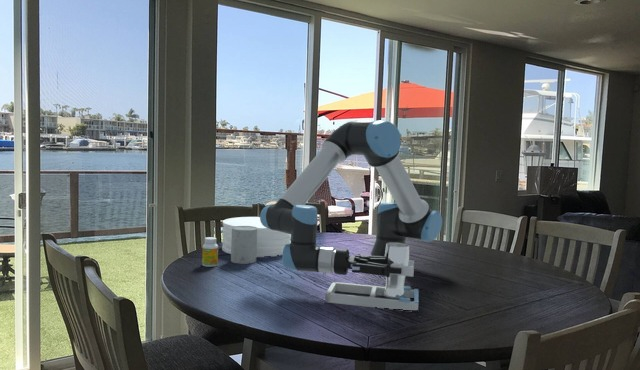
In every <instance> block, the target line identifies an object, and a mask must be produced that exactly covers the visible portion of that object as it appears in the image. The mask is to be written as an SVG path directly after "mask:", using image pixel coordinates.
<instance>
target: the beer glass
mask: <svg viewBox="0 0 640 370" xmlns="http://www.w3.org/2000/svg"><path fill="white" fill-rule="evenodd" d="M409 260H410V245H409V244H407V243H406V244H404V243H394V242H392V243H387V244H386V250H385V259H384V264H385V265H390V266H391V264H392V265H402V266H408V264H409ZM406 277H407V276H401V275H391V274H390V276H389V277H386V276H385V286H384V287H385V290H384V296H383V297H386V298H388V299H394V300H399V297H405V291H404V286H405V281H406Z"/></svg>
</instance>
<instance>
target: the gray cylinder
mask: <svg viewBox="0 0 640 370" xmlns="http://www.w3.org/2000/svg"><path fill="white" fill-rule="evenodd" d="M257 229H258V228H257V227H253V226H235V227H232V242H231V254H230V262H232V263H234V264H240V265H241V264H242V265H245V264H246V265H248V264H249V263H250V264H254V263H257V257H256V254H257Z"/></svg>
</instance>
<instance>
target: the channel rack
mask: <svg viewBox="0 0 640 370" xmlns="http://www.w3.org/2000/svg"><path fill="white" fill-rule="evenodd" d="M384 290H385V286H378V285H371V284H370V285H368V284H358V283H350V282H339V281H332V283H331V284H330V286H329V287H328V289H327V291H326V292H325V296H324V297H325V298H324V299H325V300H324V303H329V304H330V303H331V304H339V305H346V306H347V305H348V306H355V307H358V306H359V307H367V308H375V307H377V308H376V309H384V308H389V309H388V310H393V309H403V310H418V311H419V304H418V303H414V300H413V301H412V300H410V303H409V302H399V299H394V298H383V297H385V296H384ZM404 291H405V297H407V298H414V289H411V291H408V290H404ZM336 292H340V293H336ZM341 292H342V293H341ZM344 293H348V294H344ZM349 293H353V294H349ZM354 294H360V295H354ZM361 294H362V295H363V296H362V295H361ZM364 295H365V296H364ZM366 295H369V296H366ZM377 296H378V297H377ZM379 296H380V297H379ZM403 310H402V311H403Z"/></svg>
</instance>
